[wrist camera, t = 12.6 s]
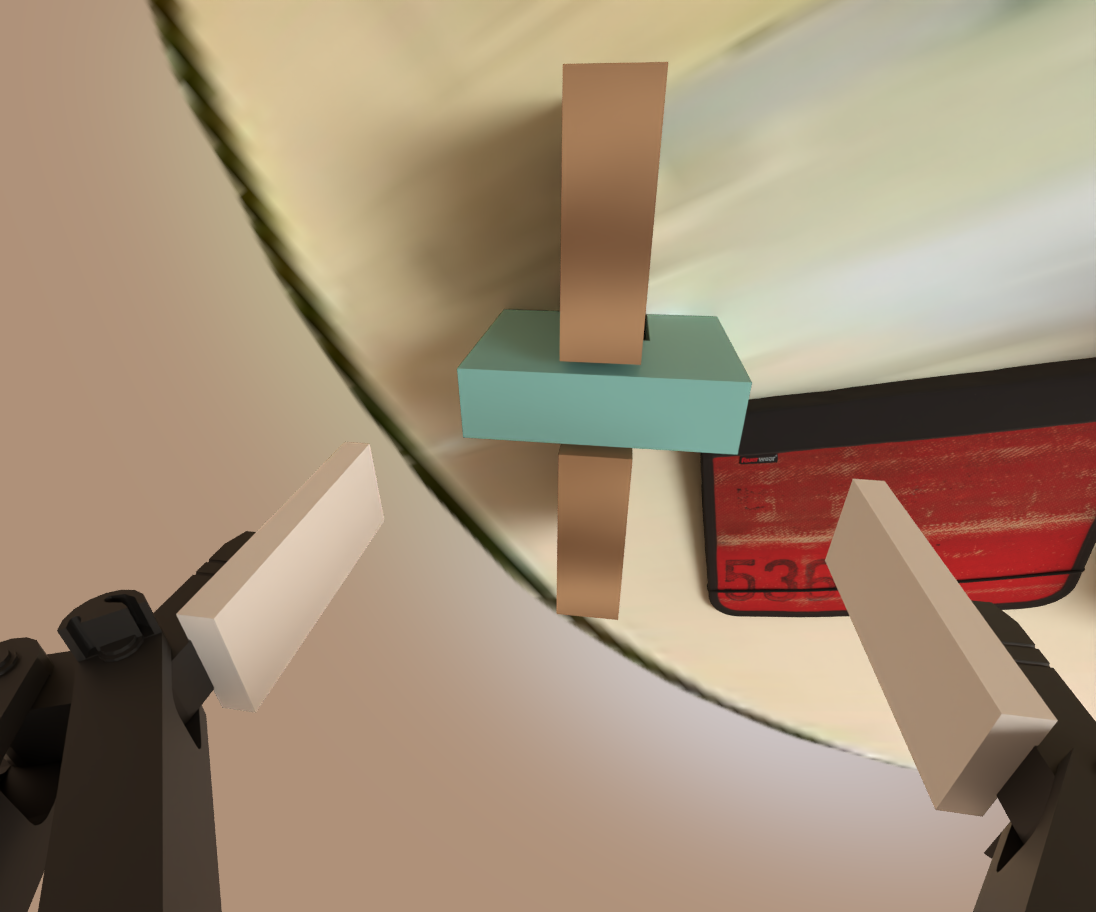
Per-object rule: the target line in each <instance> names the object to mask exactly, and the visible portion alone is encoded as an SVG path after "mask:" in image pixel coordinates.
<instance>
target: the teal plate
mask: <svg viewBox="0 0 1096 912" xmlns="http://www.w3.org/2000/svg"><path fill="white" fill-rule="evenodd" d="M457 373H458V385H459V396H460V407H461V419H462V430H463V437H464V438H480V439H496V440H512V441H528V442H544V443H560V444H576V445H592V446H608V447H624V448H640V449H656V450H672V451H688V452H704V453H720V454H736V455H738V450H739V445H740V440H741V435H742V430H743V425H744V420H745V415H746V410H747V405H748V400H749V395H750V390H751V385H752V382H751V380H750V378H749V376H748V374H747V372H746V370H745V368H744V366H743V365H742V363H741V361H740V359H739V357H738V355H737V353H736V351H735V350H734V348H733V346H732V344H731V342H730V340H729V338H728V336H727V335H726V333H725V331H724V329H723V327H722V325H721V323H720V321H719V319H718V318H717V317H713V316H684V315H655V314H647V321H646V332H645V341H643V347H642V358H641V365H633V364H611V363H588V362H566V361H560V311H539V310H510V309H504V310H503V311H502V313H501V314H500V315H499V316H498V318H497V319H496V320H495V321H494V323H493V324H492V325H491V326H490V328H489V329H488V330H487V331H486V333H485V334H484V335H483V336H482V338H481V339H480V340H479V342H478V343H477V344H476V345H475V347H474V348H473V349H472V350H471V352H470V353H469V354H468V355H467V357H466V358H465V359H464V360H463V362H462V363H461V364H460V365H459V367H458V368H457Z"/></svg>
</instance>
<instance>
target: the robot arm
mask: <svg viewBox="0 0 1096 912" xmlns="http://www.w3.org/2000/svg"><path fill="white" fill-rule="evenodd" d="M383 522H384V515H383V509H382V504H381V500H380V494H379V489H378V484H377V479H376V473H375V468H374V464H373V458H372V453H371V448H370V444H368V443H354V442H344V443H343V444H342V445H341V446H340V447H339V448H338V449H337V450H336V451H335V452H334V453H333V454H332V455H331V456H330V457H329V458H328V459H327V460H326V461H325V462H324V464H323V465H322V466H321V467H320V468H319V469H318V470H317V471H316V472H315V473H314V474H313V475H312V476H311V477H310V478H309V479H308V480H307V481H306V482H305V483H304V484H303V485H302V486H301V487H300V488H299V489H298V490H297V491H296V492H295V493H294V494H293V495H292V496H291V497H290V498H289V499H288V500H287V501H286V502H285V503H284V505H282V506H281V507H280V508H279V509H278V511H276V512H275V514H274V515H273V516H272V517H271V518H270V519H269V520H268V521H267V522H266V523H265V524H264V525H263V526H262V527H261V528H260V529H259V530H258V531H257V532H248V531H246V532H244V533H242V534H241V535H239V536H237V537H236V538H234V539H232V540H231V541H229V542H227V543H225V544H224V545H223V546H222V547H221V548H220V549H219V550H218V551H217V552H216V553H215V554H214V555H213V556H212V557H211V558H210V559H209V562H206V563H205V564H204V565H203V566H202V567H201V568H199V569H198V571H197V572H196V575H192V576H191V577H190V578H189V579H188V580H187V581H186V582H185V583H184V584H183V585H182V586H181V587H180V588H179V589H178V590H177V591H176V592H175V593H174V594H173V595H172V596H171V597H170V598H169V599H168V600H167V601H166V602H164V603H163V605H161V606H160V607H159V608H158V609H157V610H156V611H155V612H154V613H153V612H152V610H151V608H150V606H149V605H148V602H147V600H146V599H145V597H144V595H143V594H142V593H140V592H137V591H136V590H118V591H114V592H109V593H105V594H103V595H100V596H98V597H95V598H93V599H90V600H88V601H87V602H85V603H83V604H82V605H80V606H79V607H77V608H75V609H74V610H73V611H72V612H71V613H70V614H69V615H67V617H66V618H64V619H63V620H62V622H61V624H60V626H59V628H58V630H57V631H58V633H59V634H60V636H61V637H62V639H63V640H64V642H65V643H66V645H67V646H68V648H69V649H70V651H68V652H61V653H55V654H46V653H45V652H44V650H43V649H42V647H41V646H40V645H39V643H38V642H37V640H34V639H30V638H27V637H26V638H14V639H9V640H6V641H3V642H0V912H28V909H29V907H30V904H31V902H32V899H33V897H34V894H35V892H36V890H37V887H38V885H39V882H40V880H41V878H42V875H43V873H44V878H43V884H42V890H41V897H40V902H39V909H38V912H222V911H221V898H220V885H219V873H218V861H217V847H216V835H215V823H214V810H213V797H212V786H211V785H212V784H211V771H210V759H209V747H208V734H207V721H206V714H205V712H204V709H203V707H202V704H203V702H204V701H205V700H206V699H207V697H208V696H209V695H210V693H211V692H212V691H213V690H214V692H215V694H216V696H217V698H218V700H219V702H220V704H221V706H222V708H229V709H236V710H243V711H250V712H256V711H257V710H258V708H259V707H260V705H261V704H262V702H263V701H264V699H265V698H266V696H267V695H268V693H269V692H270V690H271V689H272V687H273V686H274V685H275V683H276V681H277V680H278V678H279V677H280V676H281V674H282V673H283V671H284V670H285V668H286V667H287V665H288V664H289V662H290V661H291V659H292V658H293V656H294V655H295V653H296V652H297V650H298V649H299V647H300V646H301V644H302V643H303V641H304V640H305V638H306V637H307V635H308V634H309V632H310V631H311V629H312V628H313V626H314V625H315V623H316V622H317V620H318V619H319V617H320V616H321V614H322V613H323V611H324V610H325V608H326V607H327V605H328V604H329V602H330V601H331V599H332V598H333V597H334V595H335V594H336V592H337V590H338V589H339V587H340V586H341V584H342V583H343V582H344V580H345V579H346V577H347V576H348V574H349V573H350V571H351V570H352V568H353V567H354V565H355V563H356V562H357V561H358V559H359V558H360V556H361V554H362V553H363V552H364V550H365V549H366V547H367V546H368V544H369V543H370V541H371V540H372V538H373V537H374V535H375V534H376V532H377V531H378V529H379V528H380V526H381V525H382V523H383ZM825 562H826V564H827V566H828V568H829V571H830V573H831V575H832V577H833V580H834V582H835V584H836V586H837V589H838V591H839V593H840V595H841V598H842V600H843V602H844V604H845V607H846V609H847V611H848V613H849V616H850V618H851V620H852V622H853V625H854V627H855V629H856V632H857V634H858V636H859V638H860V641H861V643H862V645H863V647H864V650H865V652H866V654H867V656H868V659H869V661H870V663H871V665H872V668H873V670H874V672H875V674H876V677H877V679H878V681H879V683H880V686H881V688H882V690H883V692H884V695H885V697H886V699H887V701H888V704H889V706H890V708H891V710H892V713H893V715H894V717H895V719H896V722H897V724H898V726H899V728H900V731H901V733H902V735H903V737H904V740H905V742H906V744H907V746H908V749H909V751H910V753H911V756H912V758H913V760H914V762H915V765H916V767H917V769H918V771H919V773H920V776H921V778H922V780H923V783H924V784H925V787H926V789H927V792H928V794H929V796H930V798H931V801H932V803H933V805H934V807H935V809H936V810H940V811H947V812H954V813H961V814H968V815H975V816H983V815H984V814H985V813H986V811H987V810H988V809H989V808H990V806H991V805H992V804H993V803H994V801H995V800H996V799H997V798H998V799H999V801H1000V803H1001V804H1002V806H1003V808H1004V810H1005V812H1006V814H1007V816H1008V818H1009V819H1010V823H1009V824H1008V825H1007V826H1006V828H1005V829H1004V830H1003V831H1002V832H1001V833H1000V835H999V836H998V837H997V838H996V839H995V840H994V842H993V843H992V844H991V845H990V846H989V848H988V849H987V850H986V851H985V852H984V853H985V854H986V855H987V856H989V857H990V858H992V861H991V864H990V867H989V869H988V872H987V875H986V878H985V880H984V883H983V886H982V889H981V891H980V894H979V897H978V900H977V902H976V905H975V908H974V911H973V912H1096V722H1095V720H1094V719H1093V718H1092V716H1091V715H1090V714H1089V713H1088V711H1087V710H1086V709H1085V708H1084V706H1083V705H1082V704H1081V702H1080V701H1079V700H1078V699H1077V697H1076V696H1075V695H1074V694H1073V692H1072V691H1071V690H1070V688H1069V687H1068V686H1067V685H1066V683H1065V682H1064V681H1063V680H1062V678H1061V677H1060V676H1059V674H1058V673H1057V672H1056V671H1055V669H1054V668H1050V666H1049V664H1050V663H1049V662H1048V661H1047V659H1046V658H1045V657H1044V655H1043V654H1042V653H1041V652H1040V650H1039V649H1035V644H1034V643H1033V641H1032V640H1031V639H1030V638H1029V636H1028V635H1027V634H1026V633H1025V631H1024V630H1023V629H1022V627H1021V626H1020V625H1019V624H1018V622H1016V621H1015V620H1014V619H1012V618H1011V617H1010V616H1009V615H1007V614H1006V613H1005V612H1003V611H1002V610H1001V609H1000V608H998V607H997V606H996V605H994V604H993V603H992V602H983V601H973V600H970V598H969V597H968V596H967V594H966V593H965V592H964V590H963V589H962V587H961V586H960V585H959V583H958V582H957V580H956V579H955V578H954V576H953V575H952V574H951V572H950V571H949V569H948V568H947V567H946V565H945V564H944V562H943V561H942V560H941V558H940V557H939V556H938V554H937V553H936V551H935V550H934V549H933V547H932V546H931V544H930V543H929V542H928V540H927V539H926V538H925V536H924V535H923V533H922V532H921V531H920V529H919V528H918V527H917V525H916V524H915V522H914V521H913V520H912V518H911V517H910V515H909V514H908V513H907V511H906V510H905V509H904V507H903V506H902V504H901V503H900V502H899V500H898V499H897V497H896V496H895V495H894V493H893V492H892V491H891V489H890V488H889V486H888V485H887V484H886V482H885V481H877V480H863V479H853V480H852V483H851V486H850V489H849V492H848V495H847V497H846V500H845V503H844V506H843V509H842V512H841V515H840V518H839V521H838V524H837V527H836V530H835V533H834V536H833V539H832V541H831V544H830V547H829V550H828V553H827V556H826V559H825ZM44 870H45V871H44Z"/></svg>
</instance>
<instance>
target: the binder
mask: <svg viewBox="0 0 1096 912" xmlns="http://www.w3.org/2000/svg"><path fill="white" fill-rule="evenodd" d="M701 478H702V508H703V524H704V538H705V553H706V564H707V577H708V584H707V589H708V592H709V599H710V602H711V604H712V605H713V606H714V607H715V608H716V609H717V610H718V611H720V612H722V613H724V614H727V615H732V616H751V617H836V616H849V613H848V611H847V609H846V607H845V604H844V602H843V600H842V598H841V595H840V593H839V591H838V589H837V586H836V584H835V582H834V580H833V577H832V575H831V573H830V571H829V568H828V566H827V564H826V562H825V559H826V556H827V553H828V550H829V547H830V544H831V541H832V539H833V536H834V533H835V530H836V527H837V524H838V521H839V518H840V515H841V512H842V509H843V506H844V503H845V500H846V497H847V495H848V492H849V489H850V486H851V483H852V480H853V479H863V480H877V481H885V482H886V484H887V485H888V486H889V488H890V489H891V491H892V492H893V493H894V495H895V496H896V497H897V499H898V500H899V502H900V503H901V504H902V506H903V507H904V509H905V510H906V511H907V513H908V514H909V515H910V517H911V518H912V520H913V521H914V522H915V524H916V525H917V527H918V528H919V529H920V531H921V532H922V533H923V535H924V536H925V538H926V539H927V540H928V542H929V543H930V544H931V546H932V547H933V549H934V550H935V551H936V553H937V554H938V556H939V557H940V558H941V560H942V561H943V562H944V564H945V565H946V567H947V568H948V569H949V571H950V572H951V574H952V575H953V576H954V578H955V579H956V580H957V582H958V583H959V585H960V586H961V587H962V589H963V590H964V592H965V593H966V594H967V596H968V597H969V598H970V600H973V601H983V602H992V603H993V604H994V605H996V606H997V607H998V608H1000V609H1001V610H1010V609H1023V608H1032V607H1039V606H1043V605H1047V604H1050V603H1053V602H1056V601H1058V600H1060V599H1062V598H1063V597H1065V596H1066V595H1068V594H1069V593H1070V592H1071V591H1072V590H1073V589H1074V588H1075V586H1076V584H1077V582H1078V580H1079V578H1080V576H1081V573H1082V572H1083V571H1084V570H1085V568H1084V567H1085V565H1086V563H1087V561H1088V558H1089V556H1090V554H1091V552H1092V549H1093V547H1094V545H1095V543H1096V358H1087V359H1078V360H1068V361H1059V362H1050V363H1042V364H1035V365H1027V366H1020V367H1012V368H1005V369H999V370H992V371H984V372H975V373H965V374H955V375H947V376H938V377H930V378H921V379H913V380H905V381H897V382H889V383H881V384H874V385H866V386H858V387H850V388H844V389H838V390H831V391H823V392H811V393H802V394H791V395H783V396H774V397H766V398H759V399H750V400H748V405H747V410H746V415H745V420H744V425H743V430H742V435H741V440H740V445H739V450H738V455H736V454H720V453H704V452H701Z"/></svg>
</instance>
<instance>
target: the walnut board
mask: <svg viewBox="0 0 1096 912" xmlns="http://www.w3.org/2000/svg"><path fill="white" fill-rule="evenodd" d="M667 69H668V62H646V63H592V64H563V99H562V187H561V275H560V361H566V362H588V363H611V364H633V365H641V358H642V347H643V336H644V325H645V314H646V303H647V292H648V280H649V269H650V258H651V247H652V236H653V225H654V214H655V203H656V192H657V181H658V169H659V158H660V147H661V136H662V125H663V114H664V103H665V92H666V81H667ZM631 469H632V448H624V447H608V446H592V445H576V444H561V446H560V450H559V454H558V539H557V614H565V615H575V616H585V617H595V618H605V619H615V620H618V613H619V602H620V591H621V580H622V569H623V558H624V547H625V536H626V525H627V514H628V502H629V491H630V480H631Z"/></svg>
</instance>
